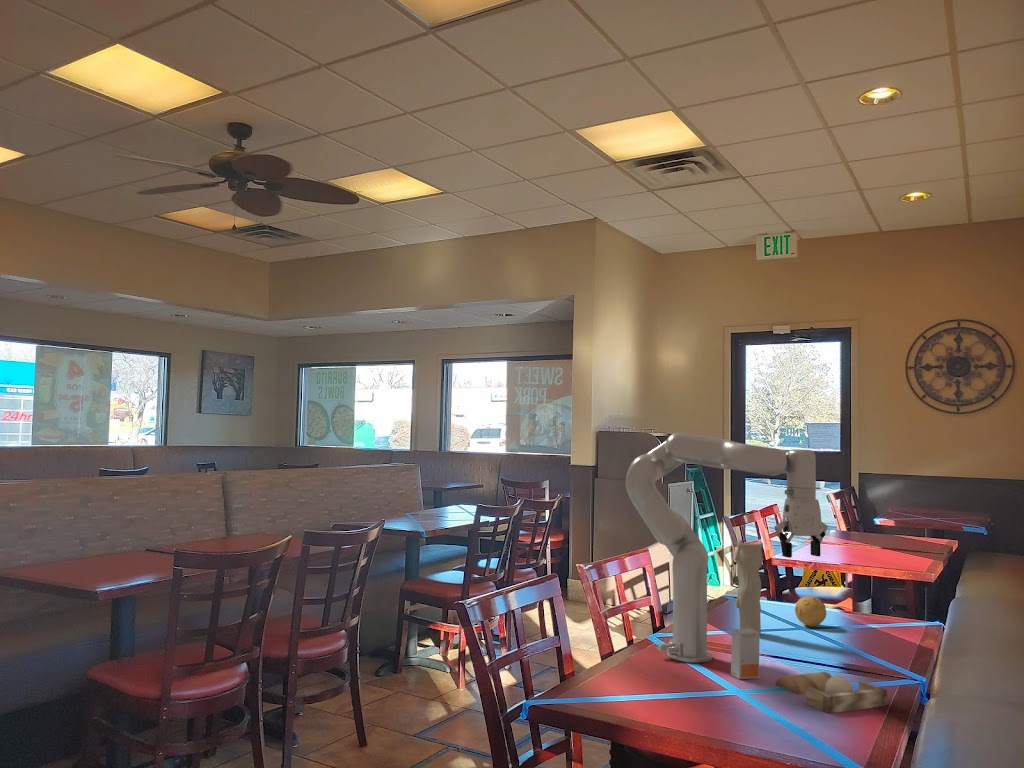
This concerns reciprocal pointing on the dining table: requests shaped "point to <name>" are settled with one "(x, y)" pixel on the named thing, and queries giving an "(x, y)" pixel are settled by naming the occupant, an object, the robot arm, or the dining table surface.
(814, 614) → the stress ball
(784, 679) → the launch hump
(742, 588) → the vase
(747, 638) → the skincare box
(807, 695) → the rail
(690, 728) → the dining table surface
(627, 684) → the dining table surface
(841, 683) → the ball
